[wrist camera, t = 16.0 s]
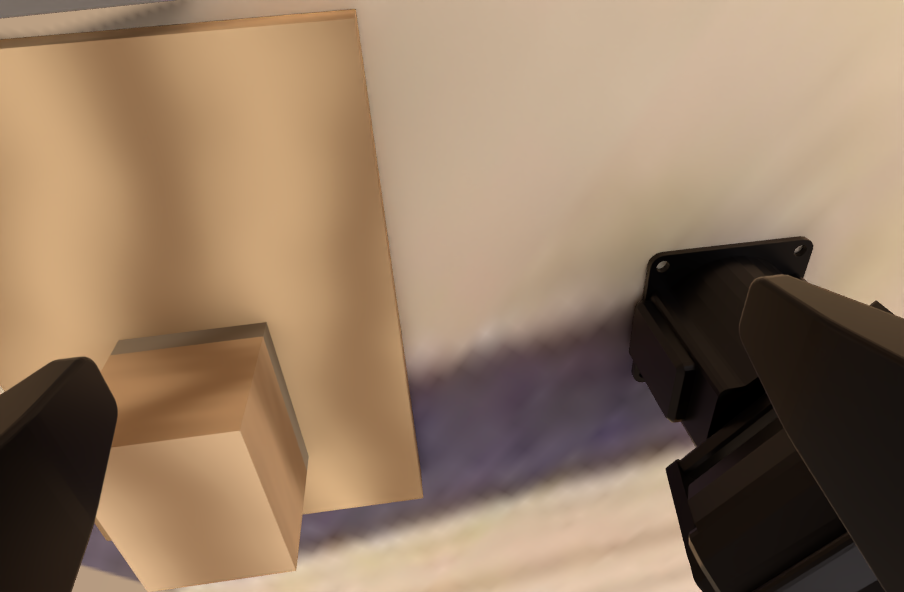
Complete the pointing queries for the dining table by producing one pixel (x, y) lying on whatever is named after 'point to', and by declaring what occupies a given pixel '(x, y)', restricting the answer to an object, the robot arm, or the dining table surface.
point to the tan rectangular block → (203, 458)
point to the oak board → (211, 220)
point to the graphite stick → (59, 6)
